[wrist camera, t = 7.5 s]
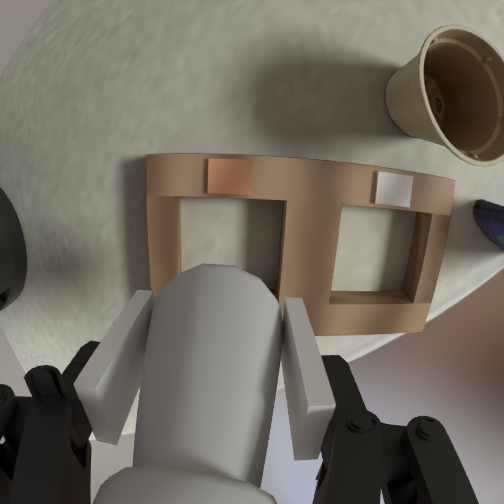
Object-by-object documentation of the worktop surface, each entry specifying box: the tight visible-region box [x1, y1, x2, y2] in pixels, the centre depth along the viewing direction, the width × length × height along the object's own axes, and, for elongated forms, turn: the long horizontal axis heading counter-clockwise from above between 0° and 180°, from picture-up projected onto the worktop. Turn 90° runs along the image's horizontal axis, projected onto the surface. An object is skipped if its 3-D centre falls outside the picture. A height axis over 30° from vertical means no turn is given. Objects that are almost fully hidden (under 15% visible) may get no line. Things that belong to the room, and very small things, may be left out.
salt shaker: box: [93, 264, 284, 504], centre depth 9 cm, size 6×6×13 cm
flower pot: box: [385, 25, 504, 167], centre depth 18 cm, size 9×9×9 cm
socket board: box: [146, 153, 455, 336], centre depth 24 cm, size 24×14×3 cm, turn 87°
